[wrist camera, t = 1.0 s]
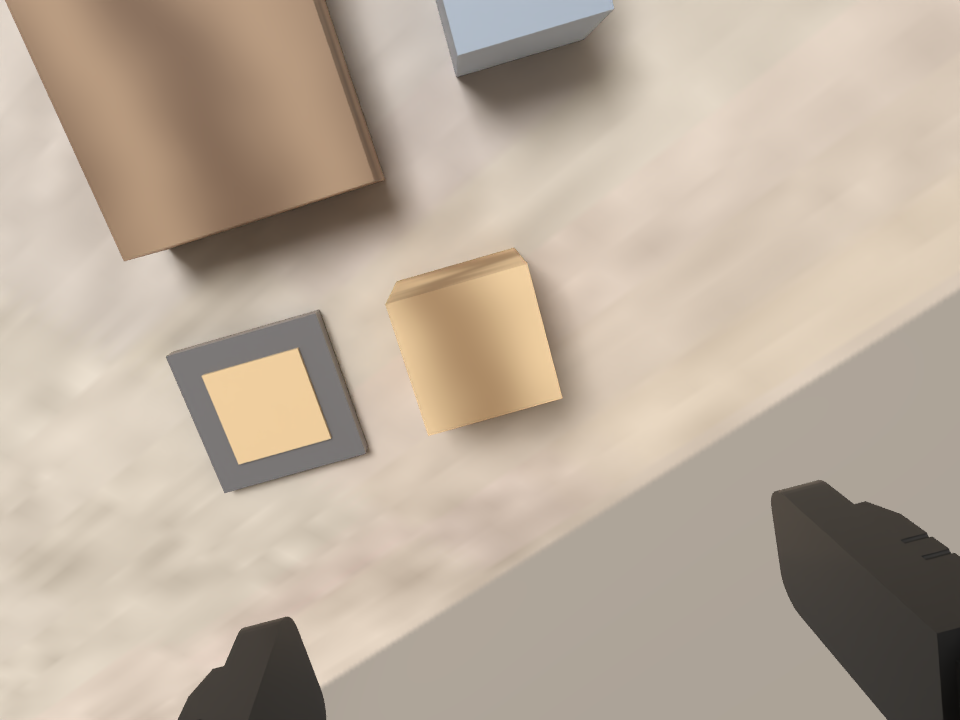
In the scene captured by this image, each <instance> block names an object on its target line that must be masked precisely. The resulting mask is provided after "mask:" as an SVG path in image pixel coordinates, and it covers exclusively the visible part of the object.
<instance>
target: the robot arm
mask: <svg viewBox="0 0 960 720" xmlns="http://www.w3.org/2000/svg"><path fill="white" fill-rule="evenodd" d="M771 506H772V514H773V521H774V528H775V535H776V542H777V548H778V556H779V563H780V570H781V575H782V580H783V583H784V586H785V589H786V592H787V594H788V596H789V598H790V600H791V602H792V604H793V606H794V608H795V609H796V611H797V612H798V613H799V615H800V616H801V617H802V618H803V620H804V621H805V622H806V623H807V624H808V626H809V627H810V628H811V629H812V630H813V631H814V633H815V634H816V635H817V636H818V637H819V638H820V640H821V641H822V642H823V644H824V645H825V646H826V647H827V648H828V649H829V650H830V652H831V653H832V654H833V655H834V656H835V658H836V659H837V660H838V661H839V662H840V664H841V665H842V666H843V667H844V668H845V669H846V671H847V672H848V673H849V674H850V676H851V677H852V678H853V679H854V680H855V682H856V683H857V684H858V685H859V686H860V688H861V689H862V690H863V691H864V692H865V694H866V695H867V696H868V697H869V698H870V700H872V702H873V703H874V704H875V705H876V707H877V708H878V709H879V710H880V711H881V713H882V714H883V715H884V716H885V717H886V719H887V720H960V556H958V555H957V554H955V553H953V554H951V552H950V551H949V549H948V548H947V547H946V546H944V545H943V544H942V543H940V542H939V541H938V540H936V539H934V538H933V537H928V535H927V533H926V532H925V531H924V530H922V529H921V528H919V527H918V526H917V525H915V524H914V523H912V522H911V521H910V520H908V519H907V518H905V517H904V516H903V515H901V514H899V513H896V512H894V511H891V510H888V509H885V508H882V507H880V506H877V505H874V504H871V503H868V502H866V501H865V502H862V503H858V504H853V503H852V502H850V501H849V500H848V499H847V498H845V497H844V496H842V495H841V494H840V493H839V492H838V491H836V490H835V489H834V488H832V487H831V486H830V485H829V484H827V483H826V482H824V481H822V480H817V481H814V482H810V483H806V484H802V485H798V486H794V487H791V488H787V489H783V490H779V491H775V492H774V493H773V494H772V498H771ZM178 720H326V710H325V703H324V698H323V695H322V691H321V689H320V686H319V683H318V681H317V678H316V676H315V673H314V670H313V668H312V665H311V662H310V660H309V657H308V655H307V652H306V649H305V647H304V644H303V642H302V639H301V636H300V634H299V631H298V629H297V626H296V624H295V622H294V621H293V620H292V619H291V618H290V617H283V618H280V619H276V620H272V621H268V622H264V623H260V624H256V625H253V626H249V627H245V628H243V629H241V630H240V631H239V633H238V635H237V637H236V640H235V642H234V644H233V647H232V649H231V651H230V654H229V656H228V658H227V661H226V663H225V665H224V666H223V667H219V668H215V669H212V671H211V672H210V673H209V674H208V675H207V676H206V677H205V679H204V680H203V681H202V682H201V683H200V684H199V685H198V687H197V688H196V689H195V690H194V691H193V692H192V693H191V695H190V696H189V697H188V699H187V701H186V703H185V705H184V707H183V710H182V712H181V714H180V716H179V718H178Z"/></svg>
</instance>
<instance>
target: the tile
mask: <svg viewBox="0 0 960 720" xmlns="http://www.w3.org/2000/svg"><path fill="white" fill-rule="evenodd" d="M166 358H167V361H168V363H169V365H170V367H171V370H172V372H173V374H174V377H175V379H176V381H177V384H178V386H179V388H180V391H181V393H182V395H183V398H184V400H185V402H186V405H187V407H188V409H189V412H190V414H191V416H192V419H193V421H194V423H195V426H196V428H197V430H198V432H199V435H200V437H201V439H202V442H203V444H204V446H205V449H206V451H207V453H208V456H209V458H210V460H211V463H212V465H213V467H214V470H215V472H216V474H217V477H218V479H219V481H220V484H221V486H222V488H223V491H224V493H227V492H230V491H234V490H238V489H241V488H245V487H248V486H252V485H255V484H259V483H263V482H266V481H270V480H273V479H277V478H280V477H284V476H288V475H291V474H295V473H298V472H302V471H305V470H309V469H313V468H316V467H320V466H323V465H327V464H330V463H334V462H338V461H341V460H345V459H348V458H352V457H355V456H359V455H363V454H366V451H367V448H368V446H367V443H366V440H365V438H364V435H363V432H362V429H361V426H360V423H359V421H358V418H357V415H356V412H355V409H354V407H353V404H352V401H351V398H350V395H349V393H348V390H347V387H346V384H345V381H344V379H343V376H342V373H341V370H340V367H339V365H338V362H337V359H336V356H335V353H334V350H333V348H332V345H331V342H330V339H329V336H328V334H327V331H326V328H325V325H324V322H323V320H322V317H321V314H320V311H319V310H317V311H313V312H310V313H306V314H303V315H299V316H296V317H292V318H289V319H285V320H282V321H278V322H275V323H271V324H268V325H264V326H261V327H257V328H254V329H251V330H247V331H244V332H240V333H237V334H233V335H230V336H226V337H223V338H219V339H216V340H212V341H209V342H205V343H202V344H198V345H195V346H192V347H188V348H185V349H181V350H178V351H174V352H172V353H170V354H169V355H167V356H166Z"/></svg>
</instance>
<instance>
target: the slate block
mask: <svg viewBox="0 0 960 720" xmlns="http://www.w3.org/2000/svg"><path fill="white" fill-rule="evenodd" d="M436 4H437V7H438V11H439V15H440V18H441V22H442V26H443V29H444V33H445V37H446V41H447V44H448V48H449V52H450V55H451V59H452V63H453V67H454V70H455V74H456V77H459V76H462V75H466V74H469V73H472V72H476V71H479V70H483V69H486V68H489V67H493V66H496V65H499V64H503V63H506V62H509V61H513V60H516V59H520V58H523V57H526V56H530V55H533V54H536V53H540V52H543V51H546V50H550V49H553V48H557V47H560V46H563V45H567V44H570V43H573V42H577V41H580V40H583V39H584V38H585V37H586V36H587V35H588V34H589V33H590V32H591V31H592V30H593V29H594V28H595V27H596V26H597V25H598V24H599V23H600V22H601V21H602V20H603V19H604V18H605V17H606V16H607V15H608V14H609V13H610V12H611V11H612V10H613V9H614V6H613V1H612V0H436Z"/></svg>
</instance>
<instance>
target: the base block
mask: <svg viewBox="0 0 960 720" xmlns="http://www.w3.org/2000/svg"><path fill="white" fill-rule="evenodd" d="M5 1H6V3H7V6H8V8H9V10H10V12H11V14H12V17H13V19H14V21H15V23H16V25H17V28H18V30H19V32H20V34H21V36H22V38H23V41H24V43H25V45H26V47H27V49H28V52H29V54H30V56H31V58H32V60H33V63H34V65H35V67H36V69H37V71H38V74H39V76H40V78H41V80H42V82H43V85H44V87H45V89H46V91H47V93H48V96H49V98H50V100H51V102H52V104H53V106H54V109H55V111H56V113H57V115H58V117H59V120H60V122H61V124H62V126H63V128H64V131H65V133H66V135H67V137H68V139H69V142H70V144H71V146H72V148H73V150H74V153H75V155H76V157H77V159H78V161H79V164H80V166H81V168H82V170H83V172H84V174H85V177H86V179H87V181H88V183H89V185H90V188H91V190H92V192H93V194H94V196H95V199H96V201H97V203H98V205H99V207H100V210H101V212H102V214H103V216H104V218H105V221H106V223H107V225H108V227H109V229H110V231H111V234H112V236H113V238H114V240H115V242H116V245H117V247H118V249H119V251H120V253H121V256H122V258H123V260H124V261H127V260H131V259H134V258H138V257H142V256H145V255H149V254H153V253H156V252H160V251H163V250H167V249H170V248H174V247H177V246H180V245H183V244H186V243H189V242H192V241H195V240H199V239H202V238H205V237H208V236H211V235H214V234H217V233H220V232H224V231H227V230H230V229H233V228H236V227H239V226H242V225H245V224H249V223H252V222H255V221H258V220H261V219H264V218H267V217H270V216H274V215H277V214H280V213H283V212H286V211H289V210H292V209H295V208H299V207H302V206H305V205H308V204H311V203H314V202H317V201H320V200H324V199H327V198H330V197H333V196H336V195H339V194H342V193H345V192H349V191H352V190H355V189H358V188H361V187H364V186H367V185H370V184H374V183H377V182H380V181H383V180H385V178H384V175H383V172H382V169H381V166H380V163H379V160H378V157H377V154H376V151H375V148H374V145H373V142H372V139H371V136H370V133H369V130H368V127H367V124H366V121H365V118H364V115H363V112H362V109H361V106H360V103H359V100H358V97H357V94H356V91H355V88H354V85H353V82H352V80H351V77H350V74H349V71H348V68H347V65H346V62H345V59H344V56H343V53H342V50H341V47H340V44H339V41H338V38H337V35H336V32H335V29H334V26H333V23H332V20H331V17H330V14H329V11H328V8H327V5H326V2H325V0H5Z"/></svg>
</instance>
